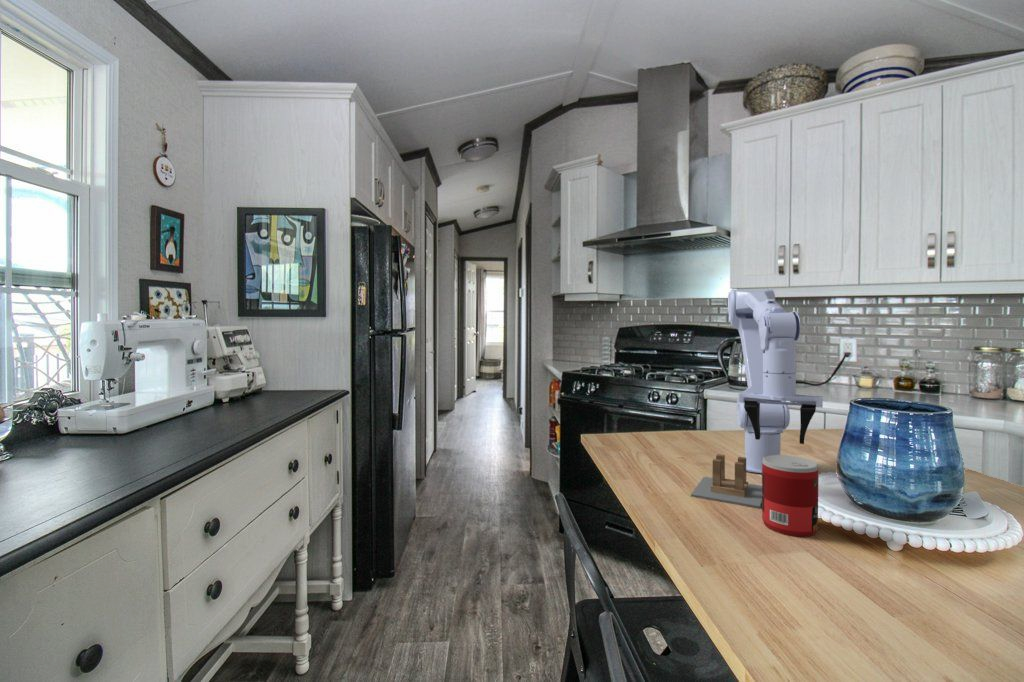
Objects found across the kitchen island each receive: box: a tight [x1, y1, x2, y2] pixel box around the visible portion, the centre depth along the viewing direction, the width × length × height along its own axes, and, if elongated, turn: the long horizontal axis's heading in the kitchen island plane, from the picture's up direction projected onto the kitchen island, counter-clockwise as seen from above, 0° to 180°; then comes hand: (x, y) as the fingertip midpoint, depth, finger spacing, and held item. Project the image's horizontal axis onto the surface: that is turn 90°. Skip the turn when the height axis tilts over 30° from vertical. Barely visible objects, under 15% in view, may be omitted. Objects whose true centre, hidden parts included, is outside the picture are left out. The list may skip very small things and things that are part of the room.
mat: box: [690, 476, 762, 509], centre depth 95 cm, size 12×12×1 cm
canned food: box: [761, 454, 819, 538], centre depth 79 cm, size 8×8×11 cm
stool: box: [711, 453, 749, 497], centre depth 95 cm, size 6×6×6 cm
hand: (779, 440), depth 95 cm, fingers open, 7 cm apart
